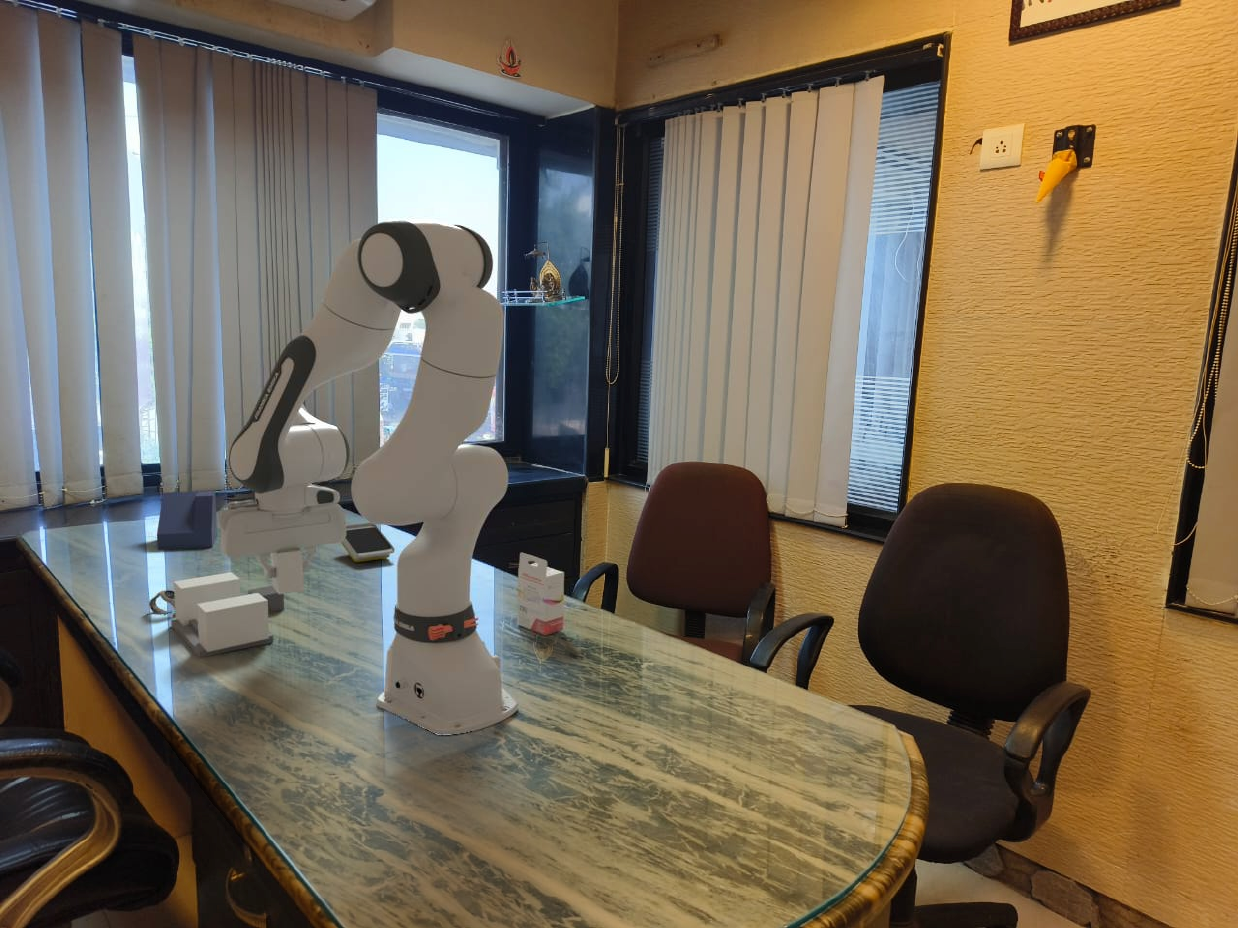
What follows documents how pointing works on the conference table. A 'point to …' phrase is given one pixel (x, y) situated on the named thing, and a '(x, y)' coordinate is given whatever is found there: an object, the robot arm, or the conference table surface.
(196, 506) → the phone stand
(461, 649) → the robot arm
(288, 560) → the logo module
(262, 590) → the grey cube-like block
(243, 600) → the rail base
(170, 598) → the wristwatch
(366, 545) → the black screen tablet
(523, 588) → the ink cartridge box
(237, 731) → the conference table surface
